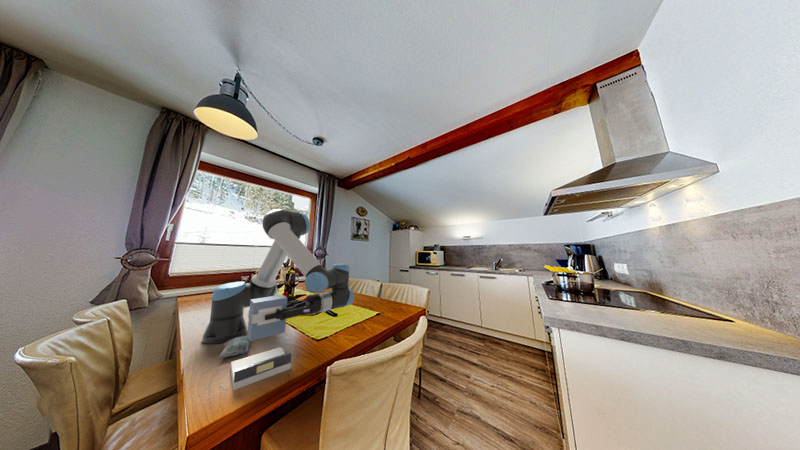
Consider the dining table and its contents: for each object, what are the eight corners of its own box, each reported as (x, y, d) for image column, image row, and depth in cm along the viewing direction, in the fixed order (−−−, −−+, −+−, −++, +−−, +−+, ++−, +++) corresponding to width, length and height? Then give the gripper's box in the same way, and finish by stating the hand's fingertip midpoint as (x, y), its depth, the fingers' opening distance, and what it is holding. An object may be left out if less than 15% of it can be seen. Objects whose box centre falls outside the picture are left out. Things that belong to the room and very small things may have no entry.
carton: (247, 335, 68) (250, 299, 69) (280, 327, 75) (282, 294, 76) (250, 341, 63) (253, 303, 65) (285, 332, 70) (287, 297, 72)
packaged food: (217, 363, 70) (219, 348, 70) (223, 348, 80) (225, 335, 80) (248, 356, 75) (249, 342, 75) (250, 343, 85) (251, 331, 85)
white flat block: (230, 368, 67) (232, 352, 68) (280, 352, 77) (281, 338, 78) (233, 391, 57) (235, 372, 57) (290, 369, 67) (291, 353, 67)
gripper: (328, 318, 75) (254, 338, 59) (309, 306, 89) (244, 320, 73) (329, 298, 76) (257, 312, 60) (310, 289, 90) (246, 299, 73)
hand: (250, 316), depth 66 cm, fingers closed on carton, 6 cm apart
